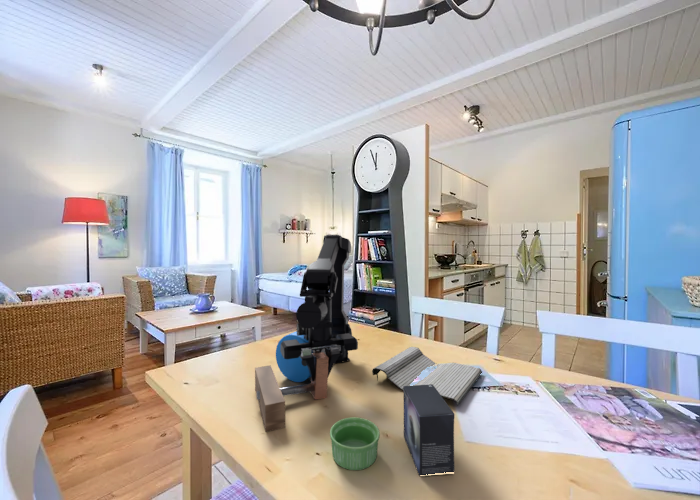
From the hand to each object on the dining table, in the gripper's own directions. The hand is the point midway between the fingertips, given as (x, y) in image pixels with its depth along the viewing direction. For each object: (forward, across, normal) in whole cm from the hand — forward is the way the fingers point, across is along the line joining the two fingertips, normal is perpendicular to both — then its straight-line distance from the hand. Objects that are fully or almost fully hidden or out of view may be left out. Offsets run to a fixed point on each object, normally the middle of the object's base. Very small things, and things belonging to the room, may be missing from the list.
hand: (319, 379), depth 76 cm
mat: (+4, -32, +3) cm, 32 cm away
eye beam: (+4, +12, 0) cm, 13 cm away
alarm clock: (-3, +7, -17) cm, 18 cm away
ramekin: (+4, 0, +23) cm, 23 cm away
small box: (+4, -12, +28) cm, 31 cm away
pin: (+4, +7, 0) cm, 8 cm away
